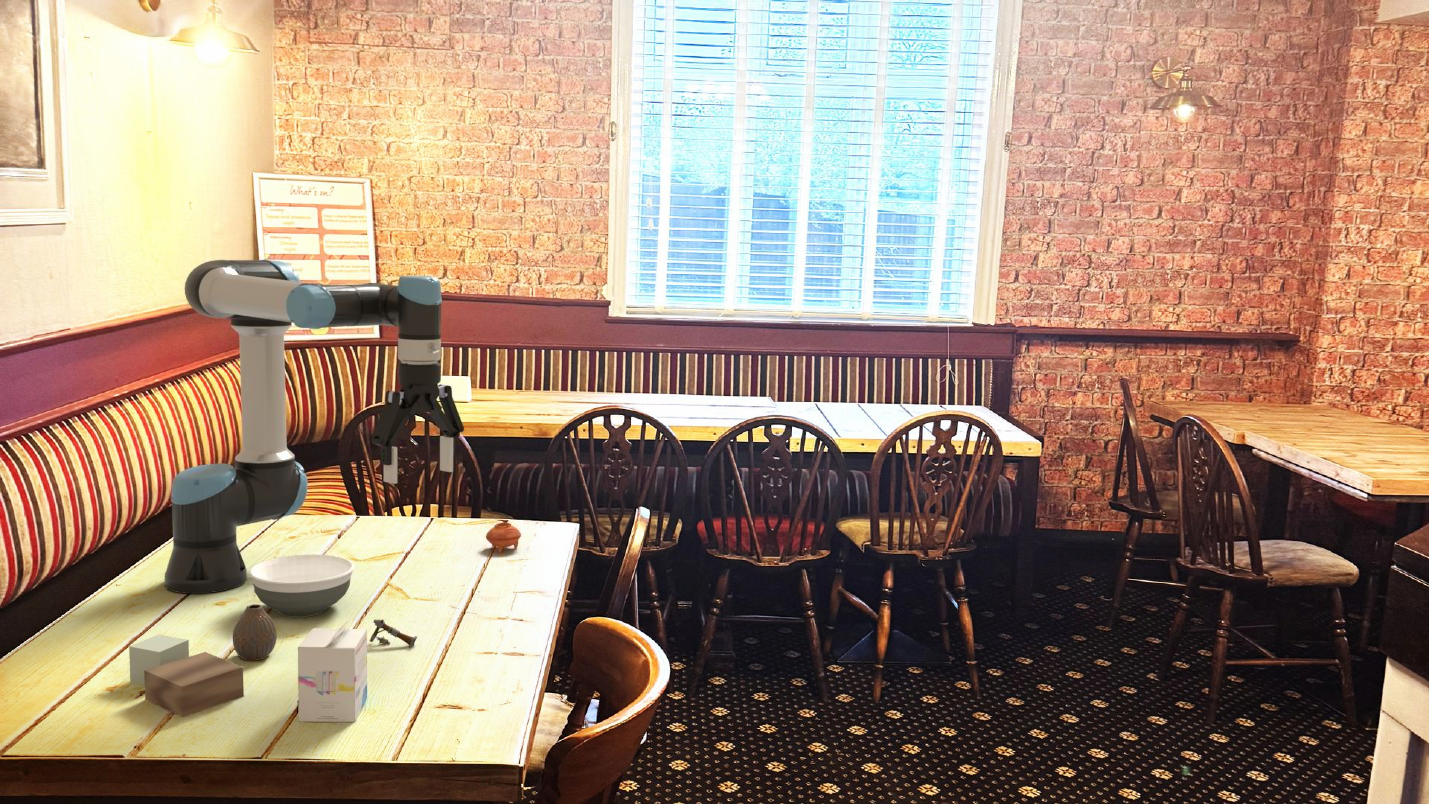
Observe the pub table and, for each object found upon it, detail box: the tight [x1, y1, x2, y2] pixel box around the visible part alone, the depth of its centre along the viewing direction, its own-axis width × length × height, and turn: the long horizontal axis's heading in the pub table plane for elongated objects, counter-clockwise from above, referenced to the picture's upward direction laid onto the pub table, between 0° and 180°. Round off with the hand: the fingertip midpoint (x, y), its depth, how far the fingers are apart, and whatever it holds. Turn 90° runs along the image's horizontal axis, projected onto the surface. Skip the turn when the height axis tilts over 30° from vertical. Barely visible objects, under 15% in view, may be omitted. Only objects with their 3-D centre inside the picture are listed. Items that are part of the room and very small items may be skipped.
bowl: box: [249, 554, 355, 618], centre depth 216 cm, size 19×19×8 cm
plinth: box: [144, 651, 245, 718], centre depth 175 cm, size 10×10×5 cm
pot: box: [485, 521, 522, 554], centre depth 262 cm, size 8×8×7 cm
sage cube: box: [128, 634, 190, 686], centre depth 181 cm, size 6×6×6 cm
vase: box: [232, 603, 278, 662], centre depth 192 cm, size 7×7×9 cm
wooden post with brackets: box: [369, 618, 418, 649], centre depth 200 cm, size 2×8×4 cm, turn 85°
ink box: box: [297, 618, 368, 723], centre depth 171 cm, size 9×8×13 cm
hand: (419, 476), depth 210 cm, fingers open, 13 cm apart
